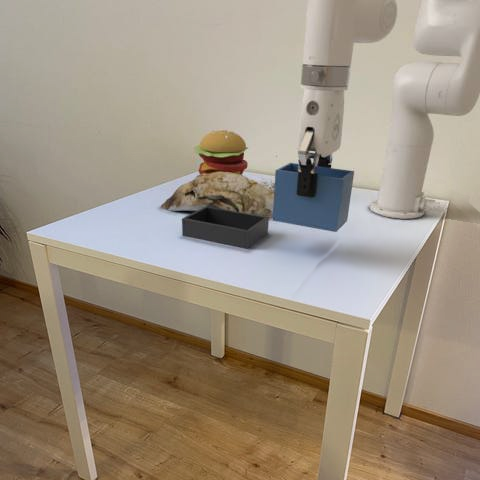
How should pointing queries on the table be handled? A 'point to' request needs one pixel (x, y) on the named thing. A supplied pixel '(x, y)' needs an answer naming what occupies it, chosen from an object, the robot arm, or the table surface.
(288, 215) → the blue bin
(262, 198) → the rock
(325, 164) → the robot arm
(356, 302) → the table surface
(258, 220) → the charcoal bin
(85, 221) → the table surface
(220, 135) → the hamburger
